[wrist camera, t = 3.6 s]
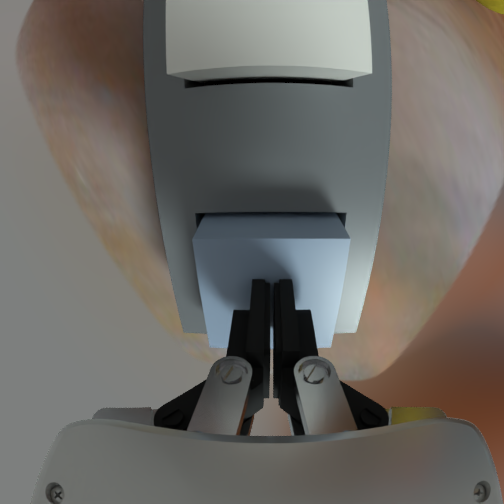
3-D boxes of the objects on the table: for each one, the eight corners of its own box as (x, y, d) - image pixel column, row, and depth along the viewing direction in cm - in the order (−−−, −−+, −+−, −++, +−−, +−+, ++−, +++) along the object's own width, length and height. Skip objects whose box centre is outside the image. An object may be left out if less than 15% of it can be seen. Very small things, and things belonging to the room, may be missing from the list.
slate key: (212, 200, 15) (192, 239, 11) (328, 199, 14) (350, 238, 10) (221, 293, 18) (210, 347, 14) (318, 293, 17) (330, 347, 13)
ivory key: (197, -26, 8) (170, -69, 4) (329, -28, 8) (354, -71, 4) (199, 82, 11) (166, 74, 7) (337, 82, 10) (372, 73, 7)
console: (172, -17, 10) (146, -43, 6) (355, -19, 9) (378, -46, 6) (196, 291, 19) (183, 332, 16) (342, 291, 19) (355, 332, 15)
